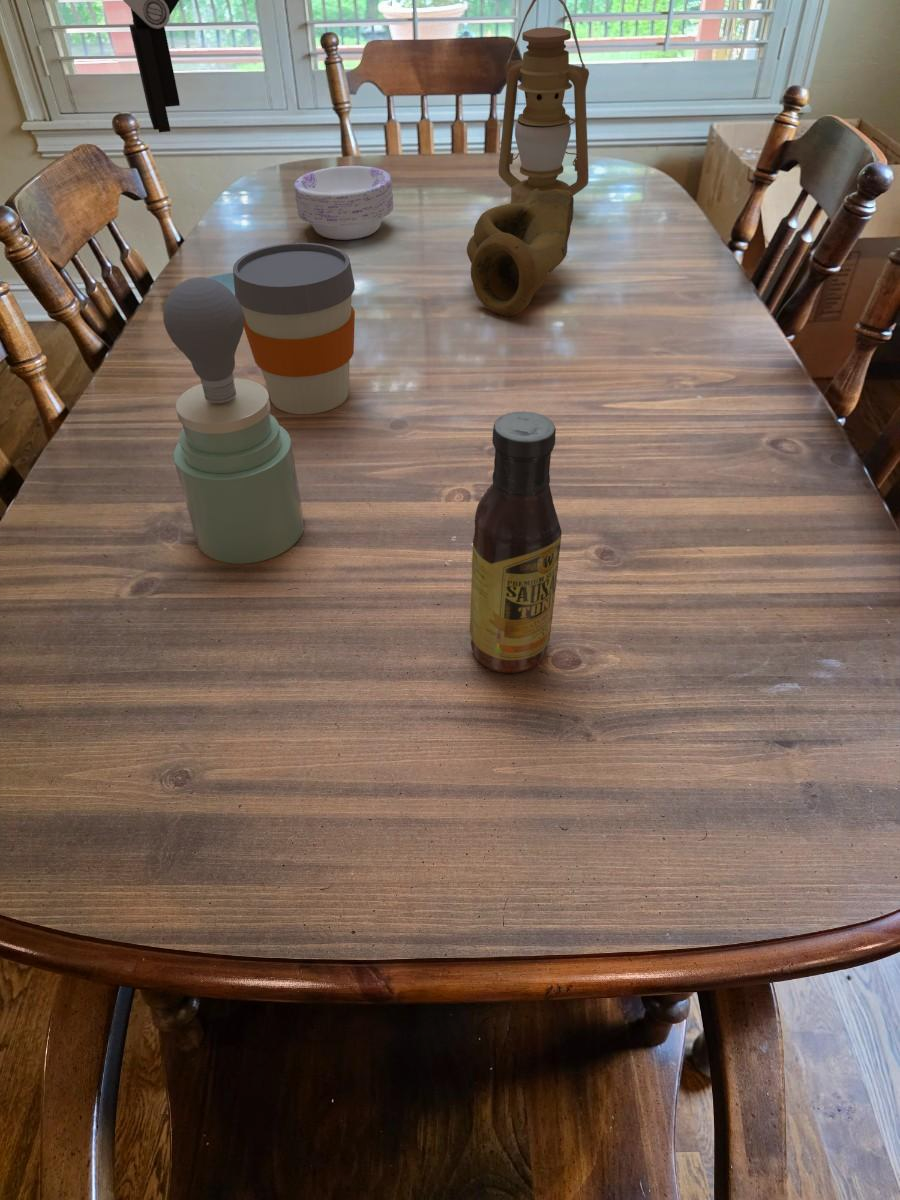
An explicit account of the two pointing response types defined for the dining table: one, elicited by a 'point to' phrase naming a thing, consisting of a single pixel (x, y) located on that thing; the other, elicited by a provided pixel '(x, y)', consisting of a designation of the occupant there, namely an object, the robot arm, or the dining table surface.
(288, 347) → the reusable coffee cup
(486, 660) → the sauce bottle
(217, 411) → the green lidded jar
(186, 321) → the light bulb
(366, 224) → the paper bowls
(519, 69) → the lantern
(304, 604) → the dining table surface
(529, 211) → the brown looped sculpture
